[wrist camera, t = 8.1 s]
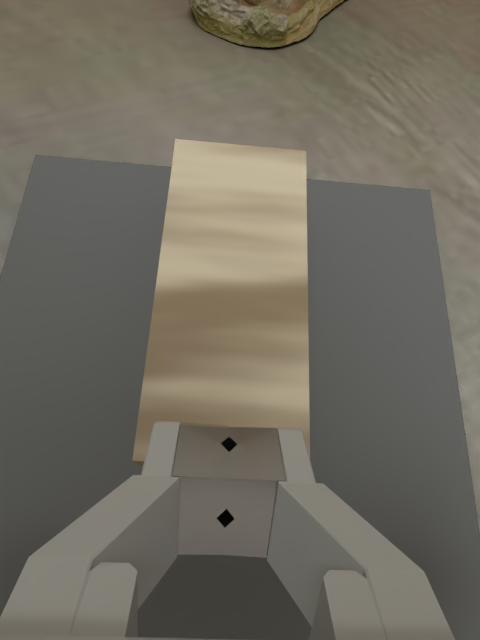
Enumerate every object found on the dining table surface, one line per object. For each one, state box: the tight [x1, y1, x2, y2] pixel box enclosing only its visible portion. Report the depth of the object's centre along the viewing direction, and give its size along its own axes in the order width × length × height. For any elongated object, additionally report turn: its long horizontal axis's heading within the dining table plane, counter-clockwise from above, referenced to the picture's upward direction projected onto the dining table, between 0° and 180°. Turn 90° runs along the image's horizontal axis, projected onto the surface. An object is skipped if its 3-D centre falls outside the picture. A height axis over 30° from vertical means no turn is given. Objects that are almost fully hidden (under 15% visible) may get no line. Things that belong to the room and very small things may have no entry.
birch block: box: [132, 139, 310, 467], centre depth 20 cm, size 4×6×14 cm
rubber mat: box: [0, 155, 480, 640], centre depth 20 cm, size 26×22×1 cm
